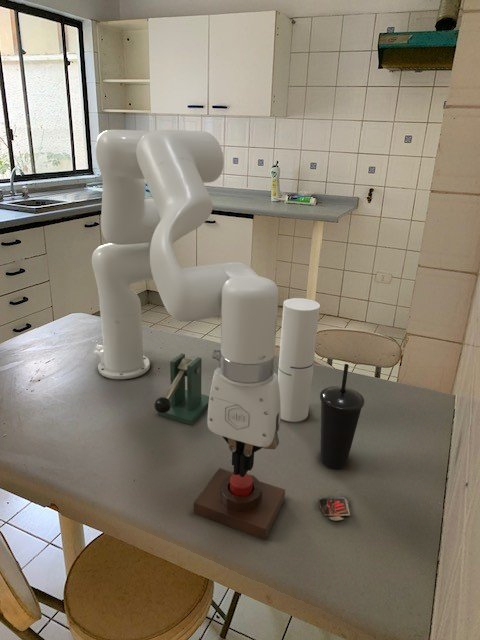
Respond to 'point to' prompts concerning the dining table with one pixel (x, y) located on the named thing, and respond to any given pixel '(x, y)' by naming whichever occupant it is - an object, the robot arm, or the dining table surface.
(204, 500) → the switch block
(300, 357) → the cylindrical container
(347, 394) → the drinking cup
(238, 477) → the button
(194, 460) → the dining table surface
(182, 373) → the switch lever
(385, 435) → the dining table surface
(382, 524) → the dining table surface
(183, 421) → the switch bracket
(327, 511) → the matchbox
